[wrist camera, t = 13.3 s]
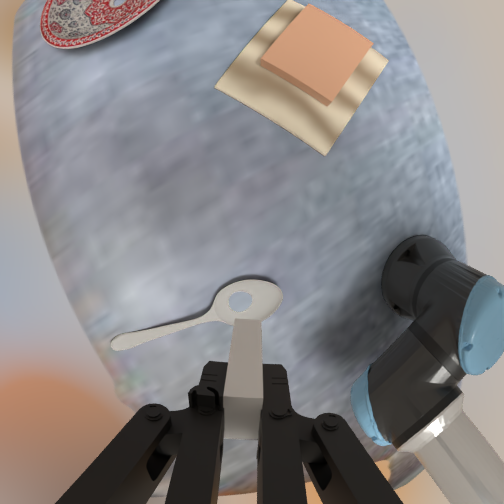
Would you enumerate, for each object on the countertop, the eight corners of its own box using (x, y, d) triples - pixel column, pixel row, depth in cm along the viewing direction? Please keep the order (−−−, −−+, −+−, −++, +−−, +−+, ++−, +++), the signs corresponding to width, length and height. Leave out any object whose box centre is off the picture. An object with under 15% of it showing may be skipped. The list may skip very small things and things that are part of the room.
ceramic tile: (332, 102, 36) (373, 43, 33) (260, 58, 34) (308, 3, 31) (326, 107, 39) (366, 50, 36) (260, 66, 37) (305, 12, 34)
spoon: (272, 265, 46) (272, 269, 44) (289, 307, 48) (290, 313, 45) (107, 324, 51) (101, 330, 49) (126, 356, 53) (121, 363, 50)
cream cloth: (324, 156, 41) (325, 155, 41) (215, 88, 39) (214, 86, 38) (386, 62, 37) (388, 60, 36) (288, 1, 34) (289, -2, 34)
